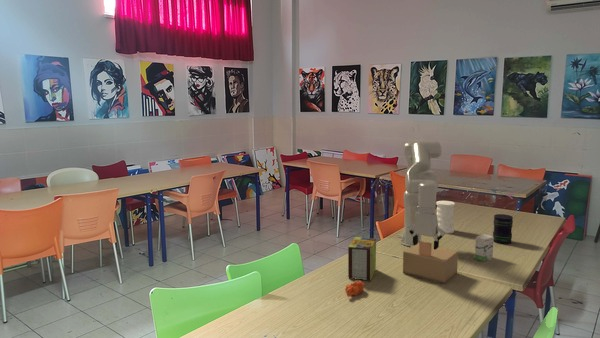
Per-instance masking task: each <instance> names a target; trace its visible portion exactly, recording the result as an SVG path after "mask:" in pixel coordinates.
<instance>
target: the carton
mask: <svg viewBox="0 0 600 338" xmlns="http://www.w3.org/2000/svg"><path fill="white" fill-rule="evenodd" d="M402 253H403V252H402ZM402 255H403V257H402V259H403V260H402V274H403V273H404V275H407V276H411V277H416V278H420V279H423V280H427V281H431V282H434V283H440V284H443V285H445V284H446V283H447V282H448V281H450V280H451V279H452V278H453V277H454V276H455V275H456V274H458V266H459V265H458V264H459V263H458V262H459V252H458V253H457V254H456V255H454V256H453V257H452V258H450V259H449V260H448V261H447V262H441V261H436V260H432V259H428V258H423V257H419V256H414V255H410V254H405V253H403V254H402Z"/></svg>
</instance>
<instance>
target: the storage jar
mask: <svg viewBox="0 0 600 338" xmlns="http://www.w3.org/2000/svg"><path fill="white" fill-rule="evenodd" d="M513 220H514V217H513V216H512V215H509V214H503V213H502V214H501V213H500V214H499V213H498V214H497V213H496V214H494V215H493V232H492V236H493V237H494V239H493V243H495V244H498V245H511V244H512V238H513V232H512V229H513Z"/></svg>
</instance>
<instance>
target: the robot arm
mask: <svg viewBox="0 0 600 338" xmlns="http://www.w3.org/2000/svg"><path fill="white" fill-rule="evenodd" d="M442 151H443V150H442V145H441V144H440V142H438V141H435V140H434V141H433V140H432V141H431V140H430V141H425V140H422V141H409V142H405V143H404V145H403V153H404V157H405V159H406V164H407V165H406V168H407V169H406V173H405V177H404V180H405V181H404V182H405V191H404V193H403V204H404V222H403V223H404V225H403V226H404V228H403V230H404V231H403V234H402V233H398V234H397V237H398V239H401V241H400V243H401V245H402V246H405V247H408V248H410V247H412V246H413V245H417V244H418V243H419V242H420V241H423V240H422V236H423V237H424V236H425V237H431V238H433V239H434V241H433V246H434V250H436V249H437V248H438V247H440V240H441V239H442V238H444V236H445V231H443V230H442V229H440V228H439V227H438V219H437V214H436V213H437V212H436V202H437V193H438V190H439V189H438V188H439V187H438V186H439V185H438V177H437V176H438V175H437V174H436V173H437V172H435V171H433V170H430V169H431V168H432V161H431V160H432V159H440V158H441V156H442ZM439 232H440V233H439Z"/></svg>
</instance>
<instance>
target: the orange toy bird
mask: <svg viewBox="0 0 600 338" xmlns="http://www.w3.org/2000/svg"><path fill="white" fill-rule="evenodd" d="M365 285H366V284H365V283H364V282H362V280H355V281H353V282H351V283H350V284H346V285H345V289H344V290H345V292H346V293H347V294H346V296H347V298H349V297H351V296H354V295H356V294H358V293H359V294H360V292H361V293H362V292H363V291H364V287H365ZM359 294H358V295H359ZM356 296H357V295H356Z"/></svg>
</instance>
